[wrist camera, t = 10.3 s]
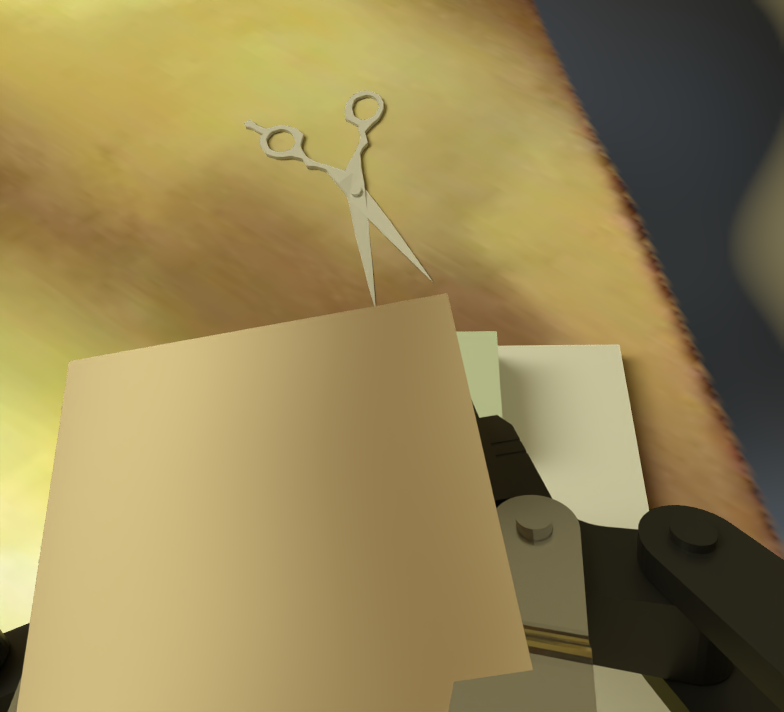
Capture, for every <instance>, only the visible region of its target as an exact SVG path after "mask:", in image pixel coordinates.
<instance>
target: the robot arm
mask: <svg viewBox="0 0 784 712" xmlns="http://www.w3.org/2000/svg"><path fill="white" fill-rule="evenodd" d="M472 404H473V402H472ZM473 408H474V413H475V417H476V422H477V426H478V430H479V435H480V439H481V443H482V448H483V452H484V457H485V461H486V465H487V470H488V474H489V479H490V483H491V487H492V492H493V496H494V501H495V505H496V509H497V514H498V518H499V523H500V527H501V531H502V536H503V540H504V545H505V549H506V553H507V558H508V562H509V567H510V571H511V575H512V580H513V584H514V589H515V593H516V597H517V602H518V606H519V610H520V615H521V619H522V624H523V628H524V632H525V637H526V641H527V646H528V650H529V654H530V659H531V663H532V668H533V670H529V671H523V672H516V673H509V674H503V675H496V676H489V677H483V678H476V679H469V680H463V681H456V682H454V683H453V689H452V694H451V700H450V706H449V711H448V712H597V707H596V694H595V682H594V670H593V665H597V666H602V667H607V668H612V669H617V670H623V671H628V672H633V673H638V674H642V676H643V677H644V679H645V680H646V681H647V682H648V684H649V685H650V686H651V687H652V689H653V690H654V691H655V693H656V694H657V695H658V696H659V698H660V699H661V700H662V701H663V703H664V704H665V705H666V706H667V708H668V709H669V710H670V711H671V712H784V560H783V559H781V558H780V557H778V556H777V555H775V554H774V553H773V552H771V551H770V550H768V549H767V548H765V547H764V546H763V545H761V544H760V543H758V542H757V541H755V540H754V539H753V538H751V537H750V536H748V535H747V534H745V533H744V532H743V531H741V530H740V529H738V528H737V527H735V526H734V525H732V524H731V523H729V522H728V521H726V520H725V519H723V518H721V517H719V516H717V515H715V514H713V513H710V512H708V511H705V510H702V509H698V508H694V507H689V506H680V505H668V506H661V507H658V508H654V509H652V510H650V511H648V512H647V513H646V514H644V515H643V517H642V518H641V519H640V522H639V524H638V529H628V528H617V527H606V526H599V525H594V524H590V523H587V522H584V521H581V520H578V519H577V517H576V516H575V514H574V513H573V512H572V511H571V510H570V509H569V508H568V507H567V506H565V505H564V504H562V503H561V502H559V501H557V500H554V499H552V497H551V495H550V493H549V491H548V490H547V488H546V486H545V484H544V482H543V480H542V479H541V477H540V475H539V473H538V471H537V469H536V468H535V466H534V464H533V462H532V460H531V458H530V457H529V455H528V453H526V449H525V447H524V446H523V444H522V442H521V441H520V438H519V436H518V435H517V433H516V431H515V429H514V427H513V425H512V424H510V423H509V422H507V421H506V420H504V419H503V418H501V417H500V416H498V415H493V416H487V417H481V418H479V416H478V413H477V411H476V409H475V406H474V404H473ZM29 625H30V623H28V624H26V625H23V626H21V627H18V628H16V629H13V630H11V631H8V632H6V633H2V631H1V630H0V712H17V705H18V698H19V692H20V685H21V678H22V672H23V665H24V658H25V652H26V645H27V638H28V632H29Z"/></svg>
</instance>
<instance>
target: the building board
mask: <svg viewBox="0 0 784 712" xmlns="http://www.w3.org/2000/svg"><path fill="white" fill-rule="evenodd" d="M498 360H499V375H500V390H501V405H502V418H503V419H504V420H506V421H507V422H509V423H510V424H512V425H513V427H514V429H515V431H516V433H517V435H518V436H519V438H520V441H521V442H522V444H523V446H524V447H525V449H526V453H528V455H529V457H530V458H531V460H532V462H533V464H534V466H535V468H536V469H537V471H538V473H539V475H540V477H541V479H542V480H543V482H544V484H545V486H546V488H547V490H548V491H549V493H550V495H551V497H552V499H554V500H557V501H559V502H561V503H562V504H564V505H565V506H567V507H568V508H569V509H570V510H571V511H572V512H573V513H574V514H575V516H576V517H577V519H578V520H581V521H584V522H587V523H590V524H594V525H599V526H606V527H617V528H628V529H638V524H639V522H640V519H641V518H642V517H643V515H644V514H646V513H647V512H648V511H649V507H648V502H647V496H646V490H645V485H644V479H643V474H642V468H641V463H640V457H639V451H638V446H637V440H636V435H635V429H634V423H633V418H632V412H631V407H630V401H629V395H628V390H627V384H626V379H625V373H624V367H623V362H622V356H621V351H620V345H535V346H498ZM593 670H594V682H595V694H596V707H597V712H671V711H670V710H669V709H668V708H667V706H666V705H665V704H664V703H663V701H662V700H661V699H660V698H659V696H658V695H657V694H656V693H655V691H654V690H653V689H652V687H651V686H650V685H649V684H648V682H647V681H646V680H645V679H644V677H643V676H642V674H638V673H633V672H628V671H623V670H617V669H612V668H607V667H602V666H597V665H593Z"/></svg>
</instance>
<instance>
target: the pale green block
mask: <svg viewBox="0 0 784 712" xmlns="http://www.w3.org/2000/svg"><path fill="white" fill-rule="evenodd" d="M456 334H457V338H458V342H459V347H460V351H461V356H462V360H463V364H464V369H465V373H466V378H467V382H468V386H469V391H470V395H471V400H472V402H473V404H474V406H475V409H476V411H477V413H478V416H479V418H481V417H487V416H493V415H498V416H500V417H501V418H502V405H501V390H500V375H499V360H498V345H497V331H480V332H456Z"/></svg>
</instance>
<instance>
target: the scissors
mask: <svg viewBox="0 0 784 712" xmlns="http://www.w3.org/2000/svg"><path fill="white" fill-rule="evenodd" d="M362 98H372V99H374V100H376V101H377V103H378V105H379V108H378V110H377V112H376V114H375V115H374V116H373V117H371V118H369V119H367V120H360V119H359V118H357V117H355V116H354V114H353V110H352V109H353V106H354V103H355V102H356V101H357V100H360V99H362ZM383 112H384V102H383V101H382V99H381V97H380V96H379V95H378V94H377V93H374V92H371V91H361V92H358V93H356V94H354V95H353V96H352V97H351V98H350V99H349V100H348V101H347V104H346V107H345V119H346V121H347V122H349V123H351V124H353V125H355V126H357V127H359V128H358V130H359V133H360V136H361V138H360V141H359V144H358V147H357V149H356V151H355V153H354V155H353V157H352V158H351V160H350V161H349V163H348V166H347V168H346V171H345V170H341V169H338V168H335V167H332V166H329V165H326V164H322V163H319V162H316V161H313V160H311V159H310V158H308V157H307V156H306V155H305V154H304V152H303V150H302V149H301V148H302V143H303V140H304V135H303V134H302V133H301V132H300V131H299V130H298V129H296V128H293V127H290V126H286V125H278V126H274V127H271V128H268V129H266V128H263V127H261V126H258V125H256V124H255V123H254V122H253V121H251V120H248V121H246V122H245V123H244V124H245V126H246V129H251V130H253V131H255V132H257V133H258V134H260V135H262V136H261V137H260V146H261V148H262V150H263V151H264V153H265V154H266V155H267V156H268V157H271V158H274V159H279V160H286V159H296V160H300V161H303V162H304V163H305V165H306V167H307V168H308V169H318V170H321V171H324V172H327V173H328V174H329V176H330V177H331V178H332V180H333V181H334V182H335V183H336V184H337V186H338V187H339V188H340V189H341V190H342V192H343V193H344V194H345V195H346V196H347V197H348V201H349V206H350V212H351V217H352V222H353V227H354V232H355V236H356V240H357V244H358V248H359V251H360V255H361V259H362V262H363V266H364V270H365V274H366V278H367V282H368V286H369V290H370V293H371V296H372V299H373V303H374V306H376V305H375V293H374V280H373V267H372V256H371V247H370V233H369V222H368V219H369V220H370V221H371V222H372V223H373V224H374V225H375V226H376V227H377V228H378V229H379V230H380V231H381V232H382V233H383V234H384V235H385V236H386V237H387V238H388V239H389V240H390V241H391V242H392V243H393V244H394V245H395V246H396V247H397V248H398V249H399V250H400V251H401V252H402V253H403V254H404V255H405V256H407V257H408V258H409V259H410V260H411V261H412V262H413V263H414V264H415V265H416V266H417V267H418V268H419V269H420V270H421V271H422V272H423V273H424V274H425V275H426V276H427V277H428V278H429V279H430V280H431V278H430V277H429V276H428V274H427V273H426V271H425V270H424V268H423V267H422V266H421V264H420V263H419V261H418V260H417V259H416V257H415V256H414V254H413V253H412V251H411V250H410V249H409V247H408V246H407V244H406V243H405V242H404V240H403V239H402V237H401V236H400V234H399V233H398V232H397V230H396V229H395V227H394V226H393V225H392V223H391V222H390V220H389V219H388V218H387V217H386V215H385V214H384V213H383V211H382V210H381V209H380V207H379V206H378V205H377V203H376V202H375V201H374V200H373V198H372V197H371V196H370V194H369V193H368V192H367V191H366V189H365V184H364V179H363V174H362V165H361V154H362V152H363V150H364V149H365V148H366V147H367V146H368V141H367V138H366V135H365V134H366V133H367V132H368V131H369V130H370V128H371V127H372V126H373V125H375V124H376V123H377V122H378V121H379V120H380V118H381V116H382V114H383ZM278 132H287V133H289V134H291V135H292V136H293V137H294V139H295V144H294V146H293V148H292V149H290V150H287V151H284V152H276V151H273V150H271V149H270V148H269V147H268V144H267V141H268V139H269V138H270V136H271V135H272V134H275V133H278ZM431 281H432V280H431ZM432 282H433V281H432Z"/></svg>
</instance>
